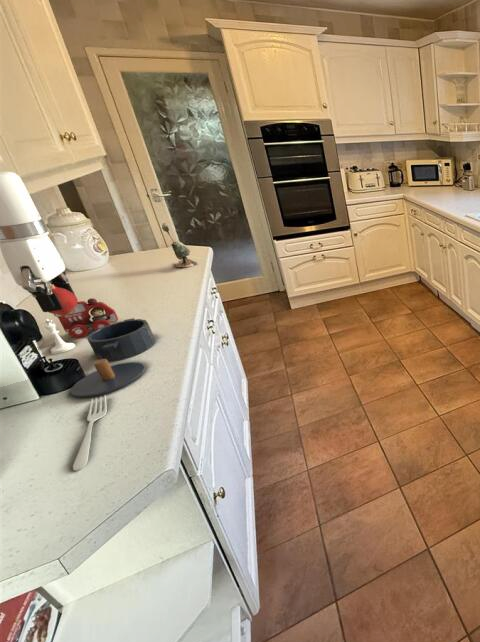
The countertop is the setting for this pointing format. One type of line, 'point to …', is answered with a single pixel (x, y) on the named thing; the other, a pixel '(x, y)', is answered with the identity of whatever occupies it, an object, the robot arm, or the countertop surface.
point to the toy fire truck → (87, 318)
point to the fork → (89, 434)
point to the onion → (64, 300)
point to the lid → (107, 378)
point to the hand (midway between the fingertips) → (60, 304)
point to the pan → (122, 339)
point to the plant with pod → (180, 251)
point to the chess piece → (57, 339)
